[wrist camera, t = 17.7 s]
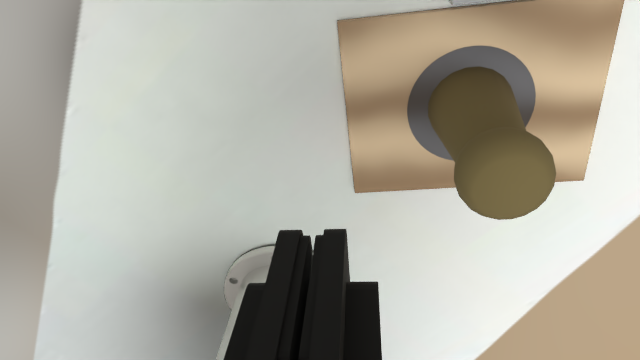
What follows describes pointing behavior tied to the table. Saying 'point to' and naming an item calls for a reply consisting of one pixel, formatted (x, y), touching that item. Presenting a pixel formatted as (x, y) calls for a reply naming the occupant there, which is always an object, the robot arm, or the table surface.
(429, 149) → the wooden board
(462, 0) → the button housing
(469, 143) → the pepper shaker
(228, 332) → the robot arm
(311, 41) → the table surface
